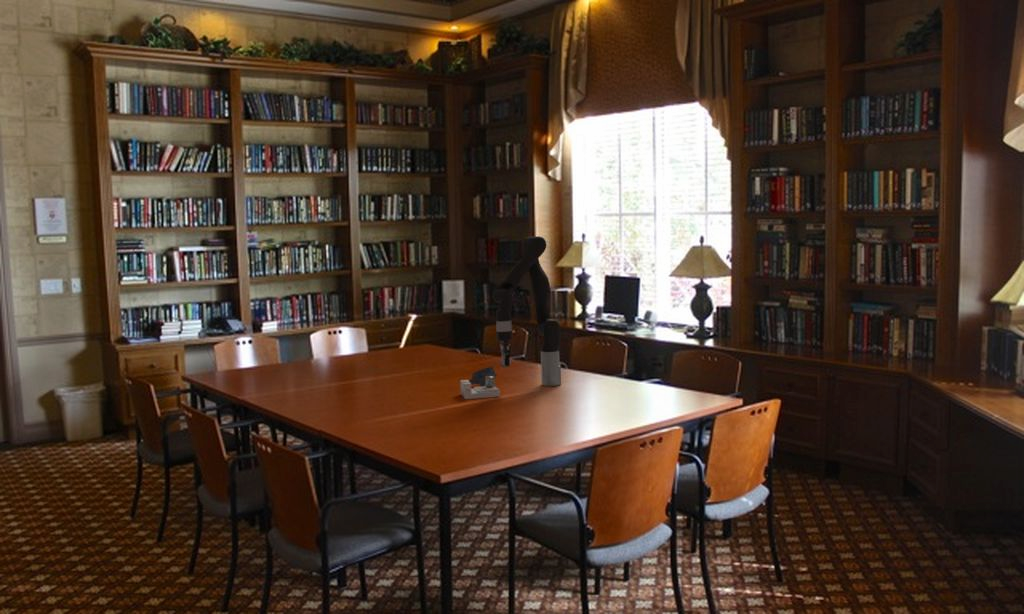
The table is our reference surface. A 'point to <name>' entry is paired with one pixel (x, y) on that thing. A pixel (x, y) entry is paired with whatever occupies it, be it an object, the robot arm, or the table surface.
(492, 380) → the grey glossy egg shape
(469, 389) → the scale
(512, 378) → the table surface
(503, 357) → the cylinder
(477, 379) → the stone
